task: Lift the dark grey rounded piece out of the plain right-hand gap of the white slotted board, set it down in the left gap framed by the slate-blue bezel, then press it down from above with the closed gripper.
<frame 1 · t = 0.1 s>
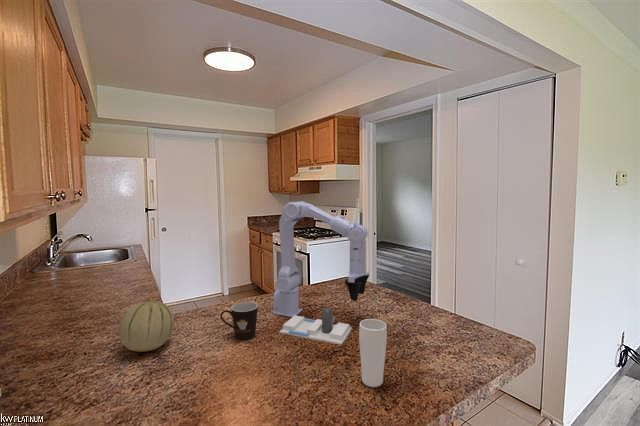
hand: (357, 296, 112), 10 cm above the countertop, tool pointing down, fingers open, 7 cm apart
white slotted board: (316, 330, 107), on the countertop
cantaloupe: (148, 349, 95), on the countertop
drinking glass: (372, 382, 79), on the countertop
dark grey rounded piece: (327, 331, 105), point 1 cm above the countertop, touching white slotted board
coffee mug: (241, 335, 104), on the countertop
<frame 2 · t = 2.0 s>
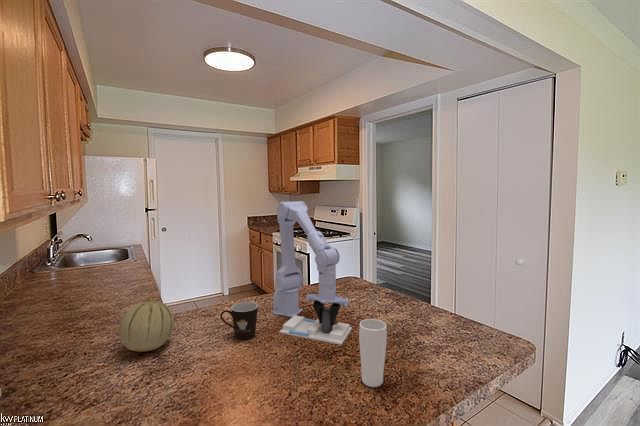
hand: (327, 323, 105), 3 cm above the countertop, tool pointing down, fingers closed on dark grey rounded piece, 4 cm apart
dark grey rounded piece: (327, 331, 105), point 1 cm above the countertop, touching white slotted board, gripper
everything else where it was.
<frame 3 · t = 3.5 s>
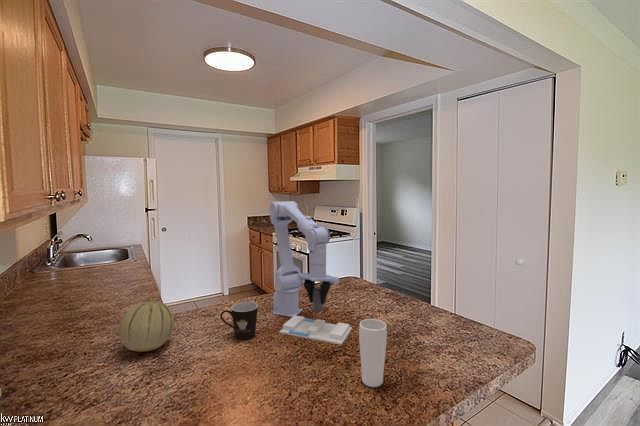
hand: (317, 302, 106), 10 cm above the countertop, tool pointing down, fingers closed on dark grey rounded piece, 4 cm apart
dark grey rounded piece: (317, 309, 106), point 7 cm above the countertop, touching gripper
everything else where it was.
when the fingers open (4 cm above the countertop, at t = 5.3 s): dark grey rounded piece stays where it is, resting on white slotted board.
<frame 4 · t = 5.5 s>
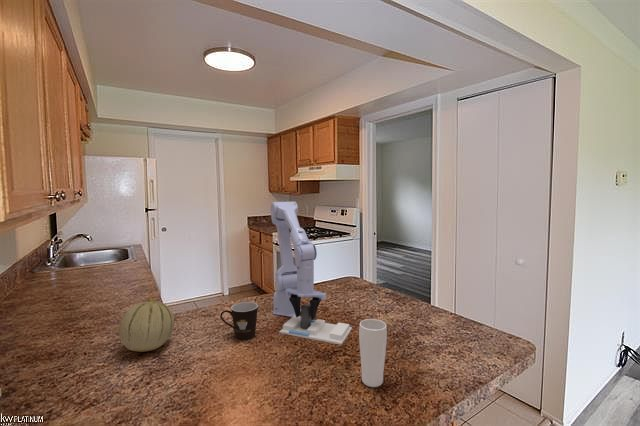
hand: (305, 317, 108), 4 cm above the countertop, tool pointing down, fingers open, 5 cm apart
dark grey rounded piece: (305, 327, 108), point 1 cm above the countertop, touching white slotted board
everything else where it was.
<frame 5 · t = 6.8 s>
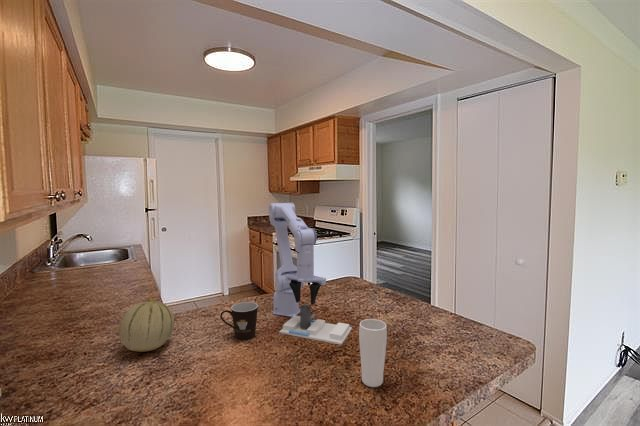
hand: (305, 302, 108), 9 cm above the countertop, tool pointing down, fingers open, 5 cm apart
nothing on the countertop moved.
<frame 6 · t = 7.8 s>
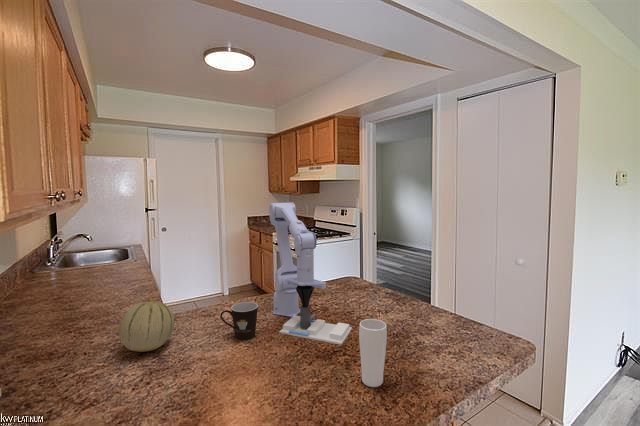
hand: (305, 306, 108), 8 cm above the countertop, tool pointing down, fingers closed, pressing on dark grey rounded piece
dark grey rounded piece: (305, 327, 108), point 1 cm above the countertop, touching white slotted board, gripper
everything else where it was.
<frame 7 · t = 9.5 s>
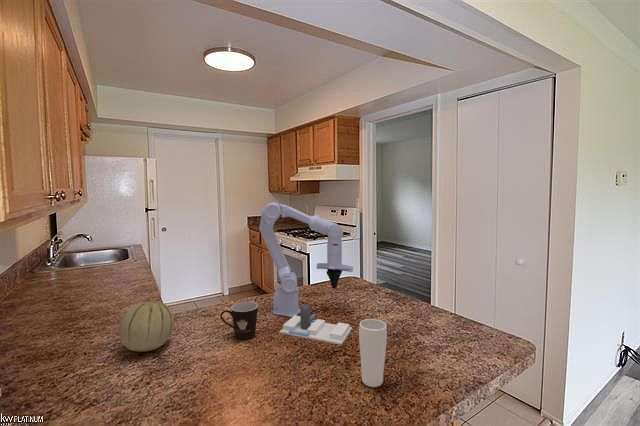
hand: (334, 287, 124), 9 cm above the countertop, tool pointing down, fingers closed
dark grey rounded piece: (305, 327, 108), point 1 cm above the countertop, touching white slotted board
everything else where it was.
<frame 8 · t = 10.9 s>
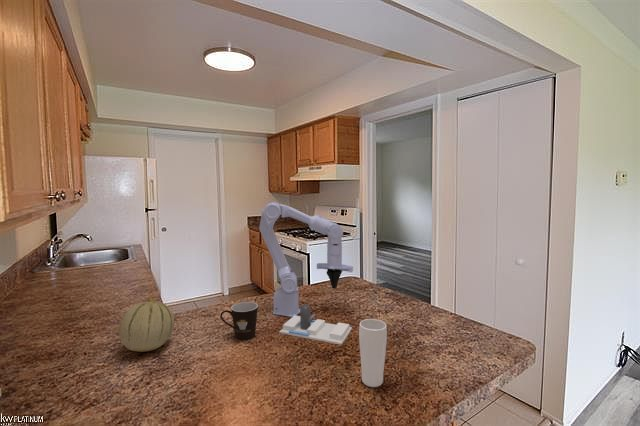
hand: (334, 287, 124), 9 cm above the countertop, tool pointing down, fingers closed
nothing on the countertop moved.
at the end: dark grey rounded piece 0.1 cm from the target spot, point 0.6 cm above the countertop; dark grey rounded piece tilted 0°; the gripper is holding nothing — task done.
